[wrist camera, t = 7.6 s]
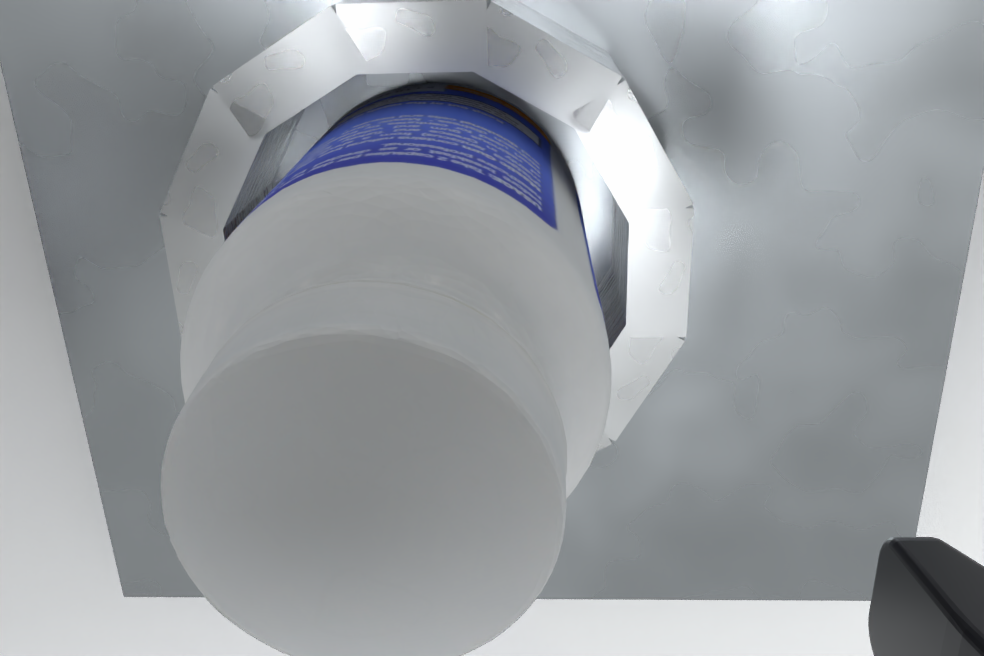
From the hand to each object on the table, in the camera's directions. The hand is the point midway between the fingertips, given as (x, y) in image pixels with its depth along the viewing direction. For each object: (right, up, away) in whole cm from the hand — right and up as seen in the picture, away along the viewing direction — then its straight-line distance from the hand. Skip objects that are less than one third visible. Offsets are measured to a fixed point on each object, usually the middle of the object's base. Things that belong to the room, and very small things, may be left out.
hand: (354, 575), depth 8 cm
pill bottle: (0, +4, +10) cm, 11 cm away
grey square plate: (+1, +3, +11) cm, 12 cm away
